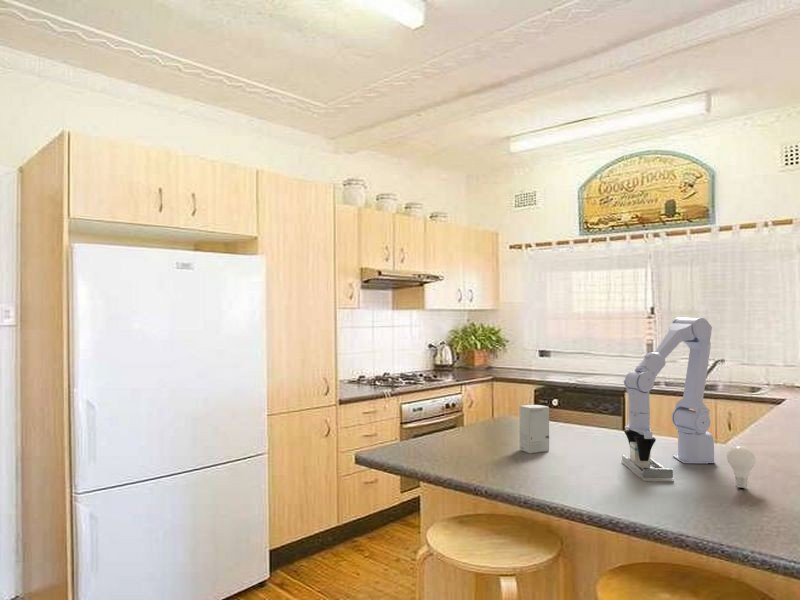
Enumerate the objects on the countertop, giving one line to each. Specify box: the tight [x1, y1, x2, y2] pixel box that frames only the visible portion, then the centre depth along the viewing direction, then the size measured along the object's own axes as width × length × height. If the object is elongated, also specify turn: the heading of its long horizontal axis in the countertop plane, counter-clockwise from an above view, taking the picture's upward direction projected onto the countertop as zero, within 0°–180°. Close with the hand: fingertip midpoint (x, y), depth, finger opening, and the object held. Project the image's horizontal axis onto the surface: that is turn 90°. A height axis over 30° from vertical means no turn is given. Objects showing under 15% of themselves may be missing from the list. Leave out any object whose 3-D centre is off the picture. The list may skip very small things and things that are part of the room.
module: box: [629, 442, 652, 466], centre depth 163 cm, size 5×4×6 cm
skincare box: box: [518, 404, 550, 454], centre depth 182 cm, size 8×6×15 cm
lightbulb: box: [726, 445, 757, 489], centre depth 143 cm, size 6×6×11 cm
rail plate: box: [621, 454, 675, 482], centre depth 158 cm, size 8×18×3 cm, turn 176°
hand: (639, 457), depth 163 cm, fingers open, 6 cm apart
